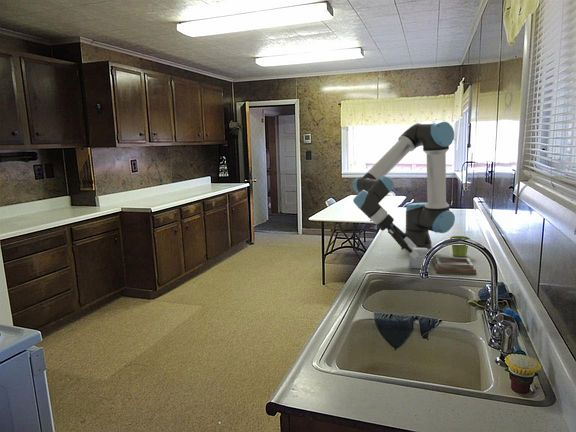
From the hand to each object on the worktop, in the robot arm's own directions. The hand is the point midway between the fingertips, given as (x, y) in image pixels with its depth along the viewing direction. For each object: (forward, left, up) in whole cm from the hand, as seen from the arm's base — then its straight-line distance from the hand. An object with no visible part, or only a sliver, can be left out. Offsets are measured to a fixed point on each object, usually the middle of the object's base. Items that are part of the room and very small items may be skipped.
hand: (415, 252), depth 190 cm
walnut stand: (-1, +16, -7) cm, 18 cm away
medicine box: (-1, +1, -7) cm, 7 cm away
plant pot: (-22, +22, -7) cm, 32 cm away
